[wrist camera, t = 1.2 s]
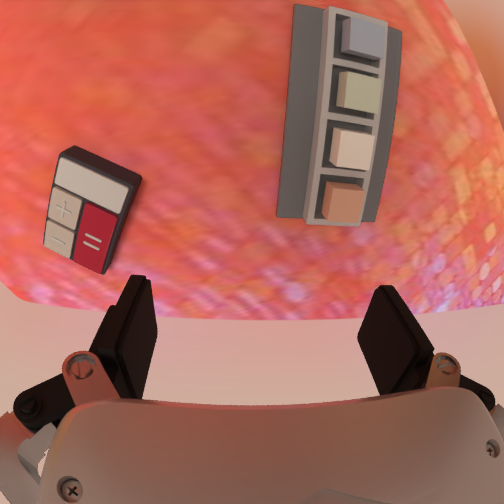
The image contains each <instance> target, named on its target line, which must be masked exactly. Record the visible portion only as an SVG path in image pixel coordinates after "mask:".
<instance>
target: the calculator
mask: <svg viewBox="0 0 504 504" xmlns="http://www.w3.org/2000/svg"><path fill="white" fill-rule="evenodd" d="M141 179H142V177H141V176H140V175H139V174H137V173H135V172H132V171H130V170H128V169H126V168H124V167H122V166H119V165H117V164H115V163H113V162H111V161H108V160H106V159H104V158H102V157H100V156H97V155H95V154H93V153H91V152H88V151H86V150H84V149H82V148H80V147H77V146H72V147H70V148H68V149H66V150H65V151H63V152H61V153H60V154H59V158H58V162H57V166H56V170H55V175H54V179H53V184H52V189H51V194H50V199H49V205H48V211H47V218H46V225H45V232H44V241H43V244H44V246H45V247H47V248H49V249H51V250H53V251H54V252H56V253H58V254H60V255H62V256H64V257H66V258H69V259H71V260H73V261H74V262H76V263H78V264H80V265H82V266H84V267H86V268H88V269H90V270H92V271H94V272H96V273H99V274H102V275H104V274H105V273H106V271H107V269H108V267H109V266H110V264H111V261H112V258H113V255H114V252H115V248H116V245H117V242H118V239H119V236H120V233H121V231H122V228H123V225H124V222H125V219H126V216H127V214H128V211H129V208H130V206H131V204H132V201H133V199H134V196H135V194H136V191H137V189H138V187H139V184H140V182H141Z"/></svg>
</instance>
